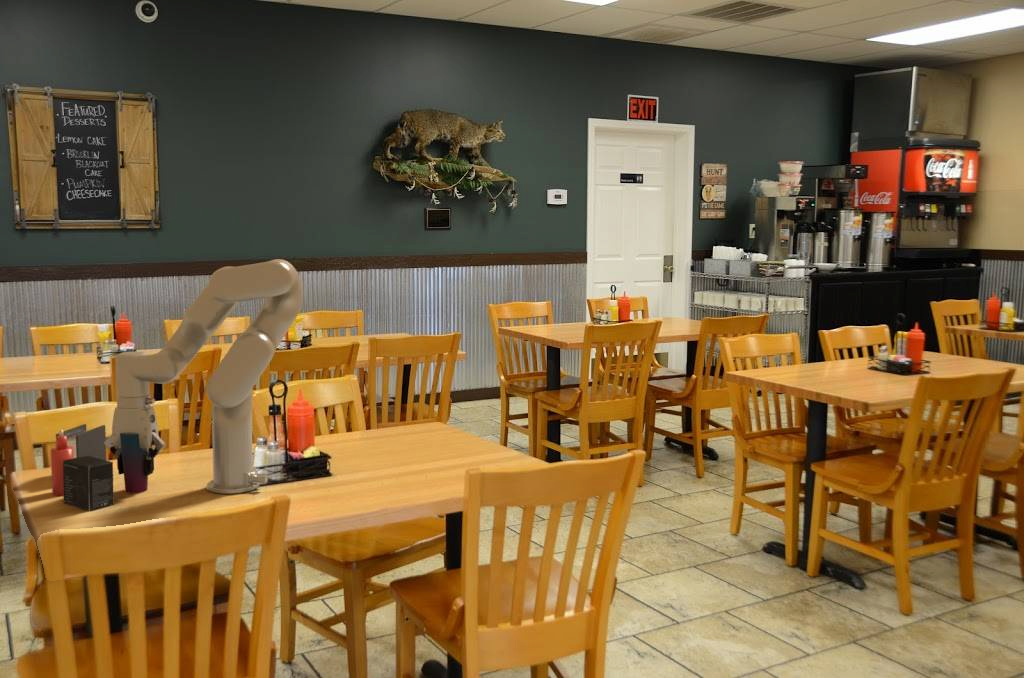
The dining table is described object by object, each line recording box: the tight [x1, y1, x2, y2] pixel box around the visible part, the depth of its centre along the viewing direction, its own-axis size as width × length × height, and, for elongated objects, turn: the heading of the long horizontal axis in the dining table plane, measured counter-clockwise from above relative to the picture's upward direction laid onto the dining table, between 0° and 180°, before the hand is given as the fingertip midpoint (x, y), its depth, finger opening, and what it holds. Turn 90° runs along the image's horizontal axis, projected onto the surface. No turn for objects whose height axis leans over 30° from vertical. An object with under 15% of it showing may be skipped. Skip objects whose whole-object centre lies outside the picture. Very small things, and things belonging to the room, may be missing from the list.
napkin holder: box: [55, 423, 108, 461], centre depth 229 cm, size 6×12×12 cm, turn 173°
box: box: [63, 456, 114, 512], centre depth 207 cm, size 11×7×10 cm, turn 58°
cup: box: [120, 433, 149, 494], centre depth 218 cm, size 7×7×15 cm
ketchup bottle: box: [50, 429, 74, 497], centre depth 215 cm, size 5×5×16 cm
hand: (135, 473), depth 218 cm, fingers closed on cup, 6 cm apart
